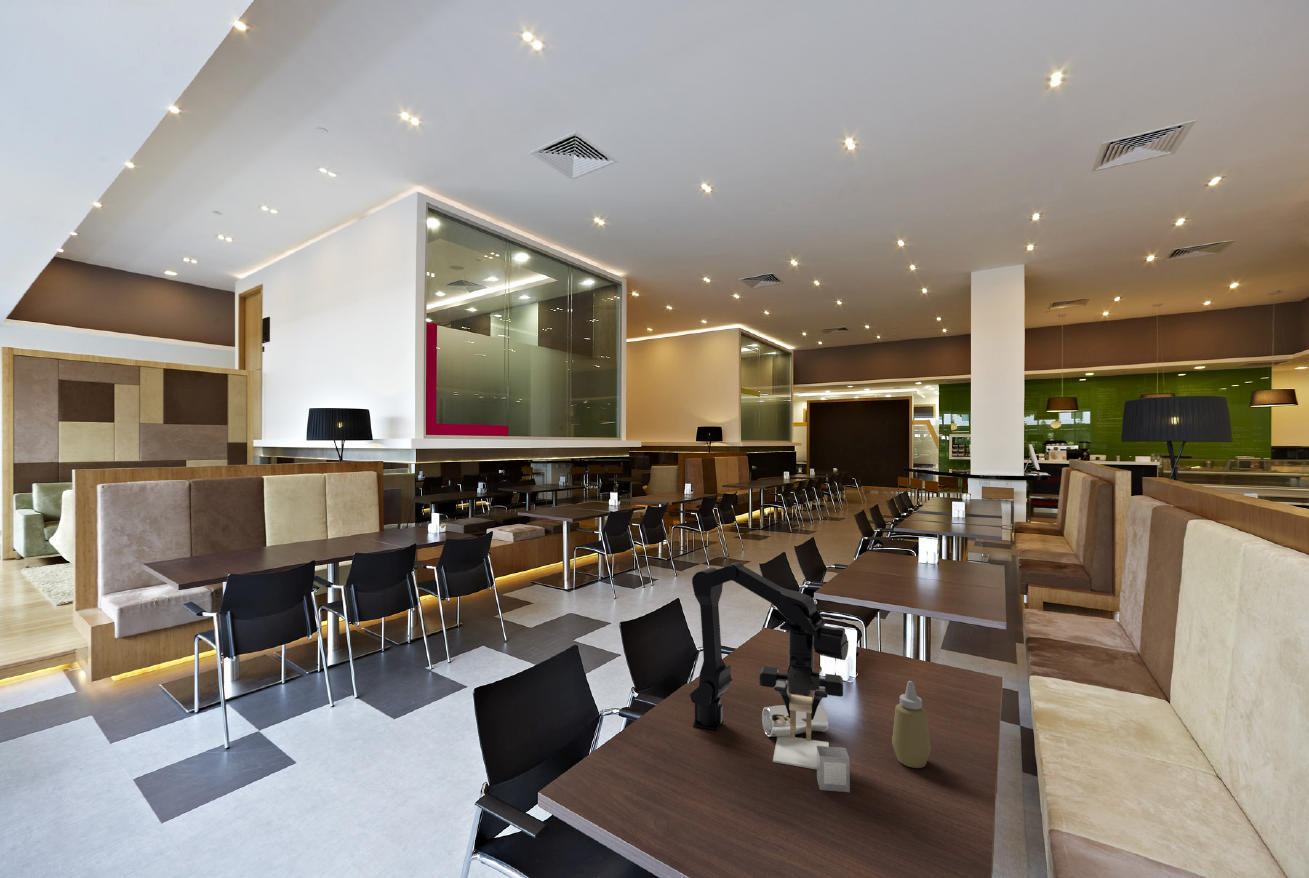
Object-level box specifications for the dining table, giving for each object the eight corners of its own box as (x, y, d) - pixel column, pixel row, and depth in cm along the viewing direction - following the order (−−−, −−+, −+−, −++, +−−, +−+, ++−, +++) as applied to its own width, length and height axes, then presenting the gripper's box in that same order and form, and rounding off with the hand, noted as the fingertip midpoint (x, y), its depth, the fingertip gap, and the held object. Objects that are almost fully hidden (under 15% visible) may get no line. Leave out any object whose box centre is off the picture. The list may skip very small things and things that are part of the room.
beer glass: (831, 719, 135) (774, 723, 132) (825, 740, 138) (769, 744, 135) (819, 696, 142) (764, 699, 139) (813, 717, 144) (759, 720, 141)
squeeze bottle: (928, 755, 128) (927, 677, 128) (933, 775, 120) (932, 691, 121) (890, 749, 131) (890, 672, 131) (893, 767, 123) (892, 686, 123)
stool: (790, 728, 132) (790, 694, 133) (812, 731, 131) (812, 697, 131) (789, 738, 128) (789, 703, 128) (811, 742, 126) (811, 706, 126)
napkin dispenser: (820, 791, 115) (820, 757, 115) (816, 778, 119) (816, 745, 119) (850, 793, 114) (849, 759, 114) (845, 781, 118) (845, 747, 118)
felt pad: (772, 762, 125) (772, 760, 125) (777, 736, 137) (777, 734, 137) (828, 771, 122) (828, 769, 122) (828, 744, 133) (828, 742, 133)
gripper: (756, 657, 125) (756, 727, 125) (843, 668, 119) (843, 741, 119) (762, 641, 136) (762, 705, 135) (842, 650, 130) (842, 717, 129)
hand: (801, 717), depth 129 cm, fingers closed on stool, 5 cm apart
